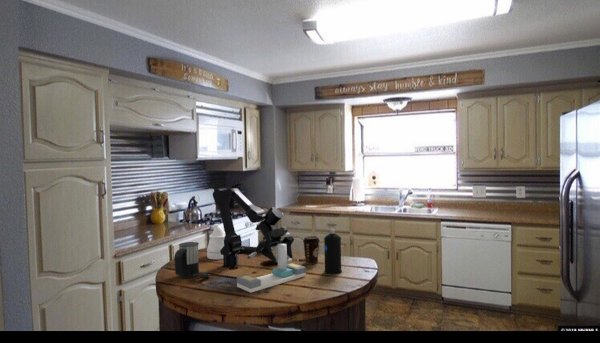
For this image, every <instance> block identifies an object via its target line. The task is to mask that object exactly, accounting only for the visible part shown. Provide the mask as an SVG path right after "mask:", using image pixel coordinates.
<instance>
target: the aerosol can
mask: <svg viewBox="0 0 600 343" xmlns="http://www.w3.org/2000/svg"><path fill="white" fill-rule="evenodd" d="M329 231H330V232H329V233H328V234H326V235H325V237H323V240H324V241H323V242H324V243H323V244H324V247H323V248H324V273H326V274H328V275H338V274H341V273H342V271H343V270H342V237H341V236H340V235H339V234H337V233H335V232H336V230H335V228H330V230H329Z"/></svg>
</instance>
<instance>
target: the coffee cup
mask: <svg viewBox="0 0 600 343" xmlns="http://www.w3.org/2000/svg"><path fill="white" fill-rule="evenodd" d="M302 241H303V250H304V259H305V264H307V265H315V264H317V263H319V262H318V261H319V250H320V245H319V243H320V241H321V240H320V238H319V237H318V236H316V235H315V236H314V235H310V236H309V235H308V236H305V237H304V239H303V240H302Z"/></svg>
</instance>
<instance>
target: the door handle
mask: <svg viewBox="0 0 600 343" xmlns="http://www.w3.org/2000/svg"><path fill="white" fill-rule="evenodd" d="M256 247H257V246H249V245H246V246H245V245H242V246H241V248H240V251H239V252H237V256H238V255H240V254H245V255H246V254H247V258H248V259H251V258H253V257H255V256H258V255H260V254H257V252H256ZM271 251H272V252H273V250H272V249H271Z"/></svg>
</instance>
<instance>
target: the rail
mask: <svg viewBox="0 0 600 343" xmlns="http://www.w3.org/2000/svg"><path fill="white" fill-rule="evenodd" d="M287 268H288V269H291V270H293V274H292V275H289V276H285V277H280V276H277V275H274V274H272V273H269V274H265V275H261V276H257V277H254V276H252V275H249V274H244V275H239V276H237V277H236V287H237V288H238V289H239V288H240V289H242V290H244V291H245V292H249V293H250V294H251V293H254V292H255V293H256V292H257V291H261V290H264V289H267V288H271V287H275V286H277V285H280V284H283V283H288V282H291V281H294V280H297V279H301V278H303V277H306V276H307V269H306V268H307V267H306V266H303V265H301V264H297V263H293V262H289V263H287Z"/></svg>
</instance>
